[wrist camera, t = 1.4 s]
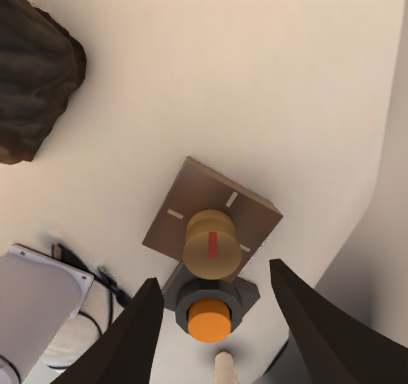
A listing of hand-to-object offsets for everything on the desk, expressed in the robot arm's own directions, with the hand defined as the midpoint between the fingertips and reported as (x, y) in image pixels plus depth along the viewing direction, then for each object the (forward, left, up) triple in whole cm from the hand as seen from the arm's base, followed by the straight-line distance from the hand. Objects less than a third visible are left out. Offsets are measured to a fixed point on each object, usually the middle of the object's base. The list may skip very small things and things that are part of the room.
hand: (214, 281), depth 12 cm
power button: (+5, -9, -6) cm, 12 cm away
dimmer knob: (0, 0, -6) cm, 6 cm away
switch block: (+5, -9, -9) cm, 14 cm away
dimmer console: (0, 0, -9) cm, 9 cm away
